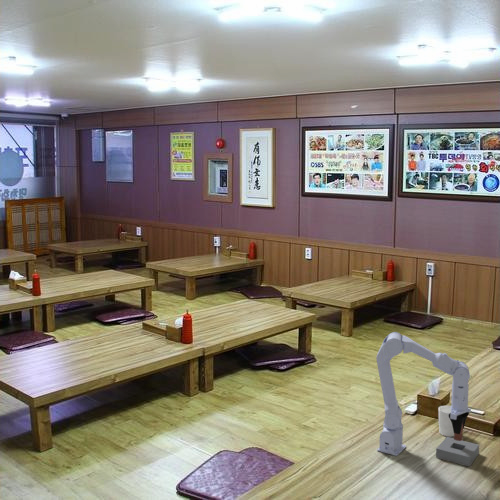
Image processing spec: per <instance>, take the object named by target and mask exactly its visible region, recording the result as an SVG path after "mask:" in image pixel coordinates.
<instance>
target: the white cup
mask: <svg viewBox="0 0 500 500" xmlns="http://www.w3.org/2000/svg"><path fill="white" fill-rule="evenodd" d="M450 413H451V405H440V406H438V432H439V434H440V435H441V436H444V437H450V438H454V431H453V426H452V422H451V420H450V418H449V414H450Z"/></svg>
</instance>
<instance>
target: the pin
mask: <svg viewBox="0 0 500 500" xmlns="http://www.w3.org/2000/svg"><path fill="white" fill-rule="evenodd" d="M463 434H464V429H463V424H462V428H461V433H460V434H456V433H454V436H453V438H454V440H457V441H463Z"/></svg>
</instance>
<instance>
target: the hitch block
mask: <svg viewBox="0 0 500 500" xmlns="http://www.w3.org/2000/svg"><path fill="white" fill-rule="evenodd" d="M435 449H436V450H435V458H437V459H440V460H444V461H446V462H447V461H448V462H450V463H454V464H459V465H462V466H465V467H471V465H472V464H473V462H474V461H475V460H476V458H477V457H478V456H479V454H480V444H479V443H478V444H477V443H474V442H470V441H465V440H462V441H457V440H454V437H448V436H445V438H444V439H443V440H442V442H440V444H439V445H438V446H437V447H436V448H435Z"/></svg>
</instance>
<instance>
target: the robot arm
mask: <svg viewBox="0 0 500 500" xmlns="http://www.w3.org/2000/svg"><path fill="white" fill-rule="evenodd" d="M402 351H403V352H402ZM401 353H403V354H409V353H413V354H415V355H417V356H419V357H422V358H424V359H426V360H427V361H429V362H431V364H432V366H433V367H434V368H436V369H438V370H439V371H441V372H444V373H445V374H447V375H449V376H452V383H451V402H450V403H451V404H450V406H451V413H450V414H449V418H450V420H451V422H452V426H453V431H454V433H456V434H460V433H461V428H462V424H463V430H464V429H465V425H466V421H467V418H468V416H469V415H470V413H471V411H472V409H471V408H469V388H470V387H469V386H470V385H469V381H470V380H469V379H470V378H471V375H470V373H471V372H470V370H469V366H468V365H467V364H466V363H465V362H464V361H461V360H458V359H457V360H456V359H454V358H452V357H450V356H449V355H448V353H446V352H444V353H442V352H434V351H432V350H431V349H429V348H427V347H426V346H424V345H422V344H420V343H418V342H417V341H415V340H413V339H412V338H410V337H408V336H407V335H403V334H401V333H400V332H398V331H393V332H391V333H389V334H388V335H386V337H385V338H384V339H383V341H382V343H381V345H380V347H379V350H378V352H377V354H376V356H375V357H376V365H377V369H378V374H379V381H380V385H381V391H382V392H381V393H382V397H383V403H384V419H383V427H382V428H383V429H382V431H381V432H380V434H379V447H378V448H377V449H376V451H378V452H381V453H383V454H388V455H392V456H395V457H397V456H399V455H400V454H401V453H402V452H403V451H404V450H405V449H406V448H407V445H406V444H403V437H404V436H403V435H404V434H403V431H404V424H403V423H402V421H403V420H402V416H403V411H402V408H401V407H400V405H399V402H398V398H397V395H396V389H395V382H394V377H393V373H392V367H391V363H390V362H391V360H392V359H394V357H395V356H398V355H400V354H401Z"/></svg>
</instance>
